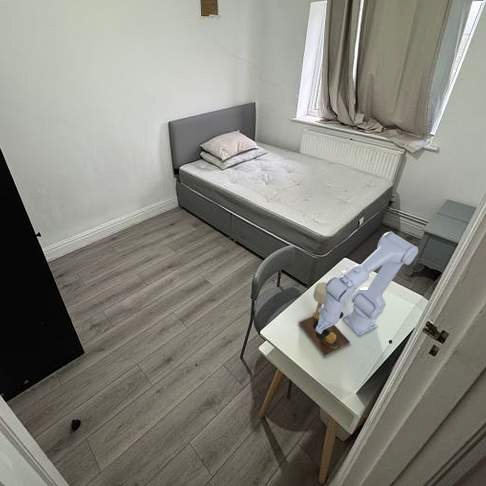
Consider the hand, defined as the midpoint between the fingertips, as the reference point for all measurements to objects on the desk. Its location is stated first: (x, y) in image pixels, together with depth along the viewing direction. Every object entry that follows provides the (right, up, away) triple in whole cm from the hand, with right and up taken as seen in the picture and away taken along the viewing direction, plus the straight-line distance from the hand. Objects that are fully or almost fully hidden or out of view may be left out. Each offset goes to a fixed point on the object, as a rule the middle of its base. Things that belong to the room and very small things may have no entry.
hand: (324, 331), depth 103 cm
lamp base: (+3, -5, +10) cm, 12 cm away
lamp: (+2, +1, +13) cm, 13 cm away
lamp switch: (+4, -5, +5) cm, 8 cm away
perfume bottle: (+18, +6, +26) cm, 32 cm away
